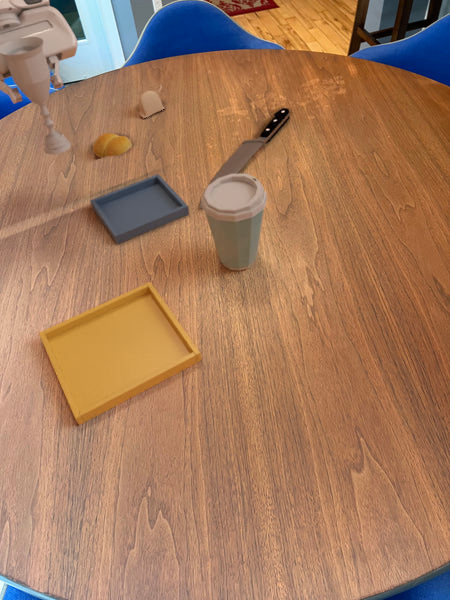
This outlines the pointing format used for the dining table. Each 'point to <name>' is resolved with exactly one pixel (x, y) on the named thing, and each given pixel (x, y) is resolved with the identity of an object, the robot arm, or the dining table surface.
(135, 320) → the mustard tray
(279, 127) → the kitchen knife
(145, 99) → the decorative ornament
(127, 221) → the slate tray
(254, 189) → the disposable coffee cup
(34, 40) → the chalice
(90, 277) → the dining table surface
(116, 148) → the bread roll
